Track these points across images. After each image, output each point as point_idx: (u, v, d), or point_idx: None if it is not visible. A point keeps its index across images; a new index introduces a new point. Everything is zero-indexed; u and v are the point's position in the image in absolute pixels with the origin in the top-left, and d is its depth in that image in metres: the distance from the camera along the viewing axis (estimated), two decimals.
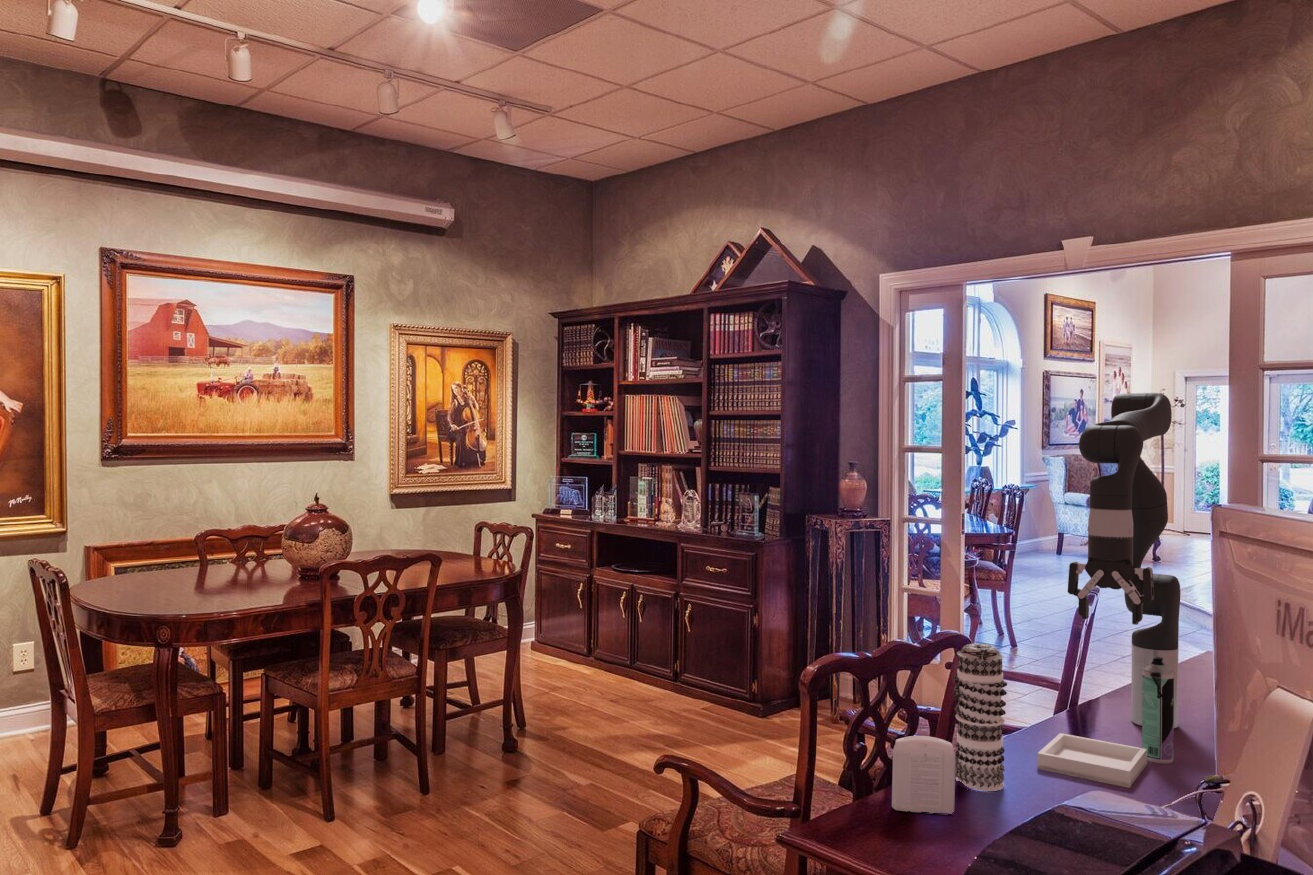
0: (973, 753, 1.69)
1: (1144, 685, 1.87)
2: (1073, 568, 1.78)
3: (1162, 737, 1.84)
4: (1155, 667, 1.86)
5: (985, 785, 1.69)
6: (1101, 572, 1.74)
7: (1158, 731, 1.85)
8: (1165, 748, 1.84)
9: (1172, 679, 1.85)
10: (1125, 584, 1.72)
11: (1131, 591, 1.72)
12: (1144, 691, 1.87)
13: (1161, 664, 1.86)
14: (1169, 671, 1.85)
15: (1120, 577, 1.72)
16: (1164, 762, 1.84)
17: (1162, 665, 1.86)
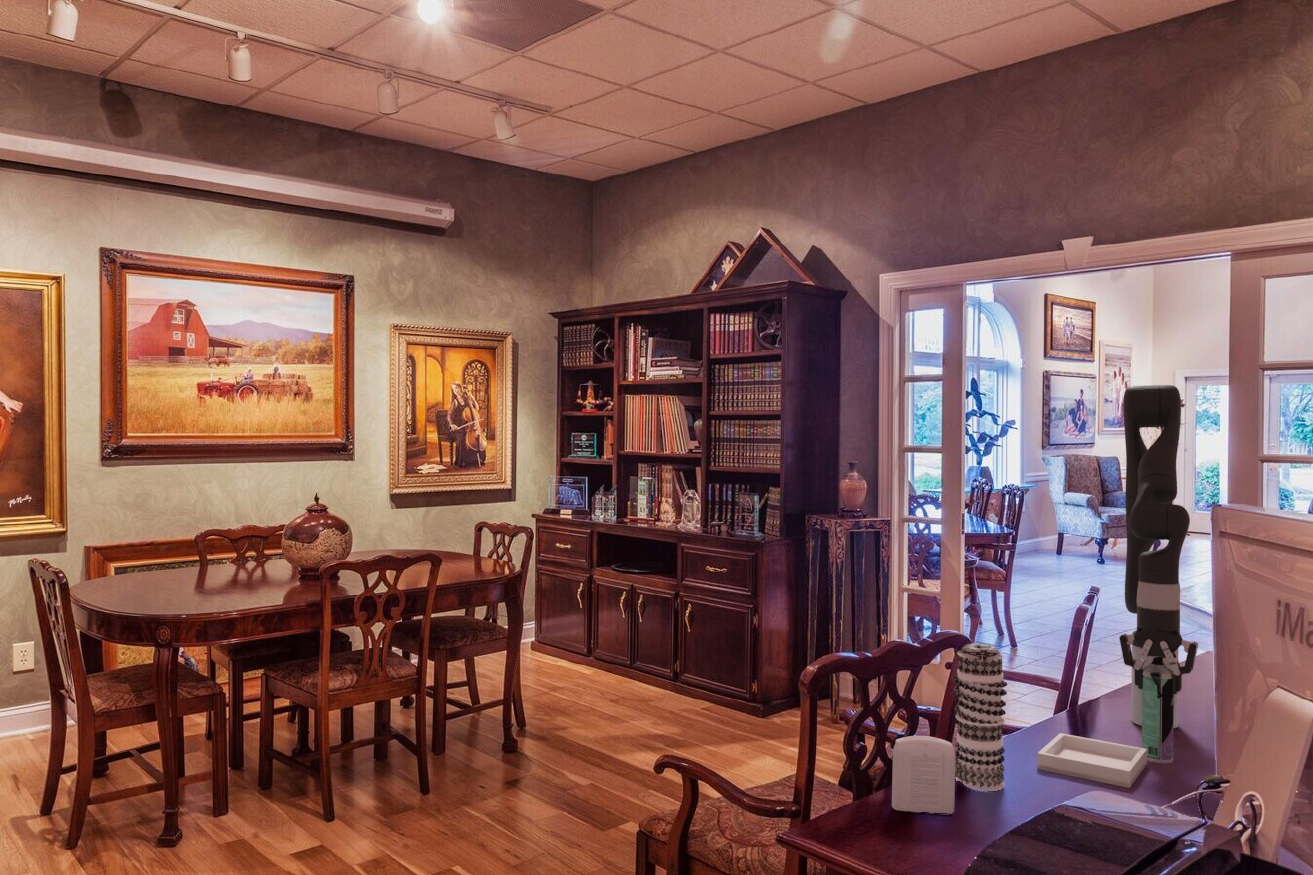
0: (973, 753, 1.69)
1: (1144, 685, 1.87)
2: (1123, 640, 1.90)
3: (1162, 737, 1.84)
4: (1155, 667, 1.86)
5: (985, 785, 1.69)
6: (1149, 641, 1.86)
7: (1158, 731, 1.85)
8: (1165, 748, 1.84)
9: None
10: (1170, 655, 1.84)
11: (1174, 662, 1.84)
12: (1144, 691, 1.87)
13: (1161, 664, 1.86)
14: (1169, 671, 1.85)
15: (1167, 648, 1.85)
16: (1164, 762, 1.84)
17: (1162, 665, 1.86)
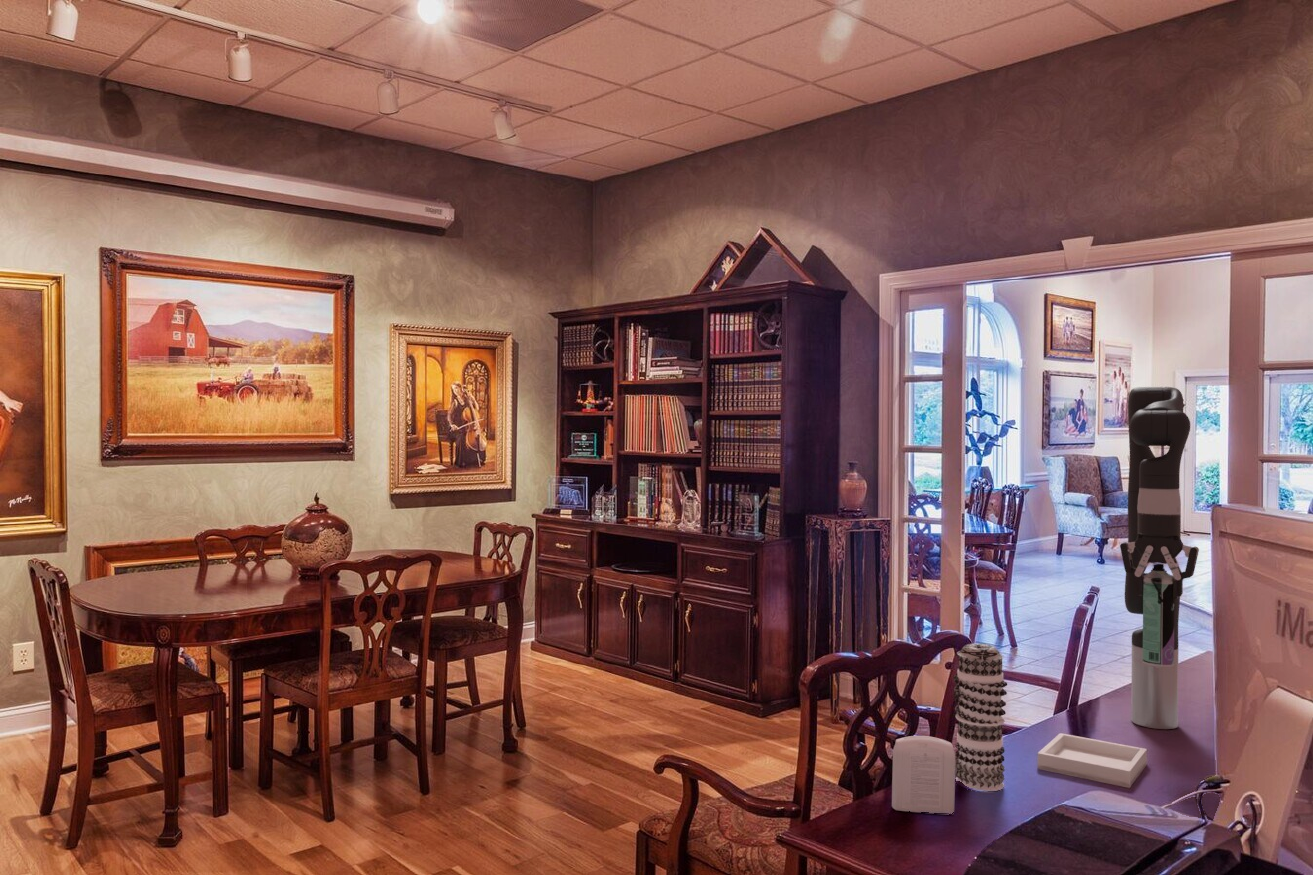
0: (973, 753, 1.69)
1: (1145, 591, 1.87)
2: (1124, 548, 1.90)
3: (1163, 643, 1.85)
4: (1156, 573, 1.86)
5: (985, 785, 1.69)
6: (1150, 547, 1.86)
7: (1159, 636, 1.85)
8: (1166, 653, 1.84)
9: None
10: (1171, 560, 1.84)
11: (1174, 567, 1.84)
12: (1145, 597, 1.87)
13: (1162, 570, 1.86)
14: (1170, 577, 1.85)
15: (1167, 553, 1.85)
16: (1165, 667, 1.85)
17: (1163, 571, 1.86)
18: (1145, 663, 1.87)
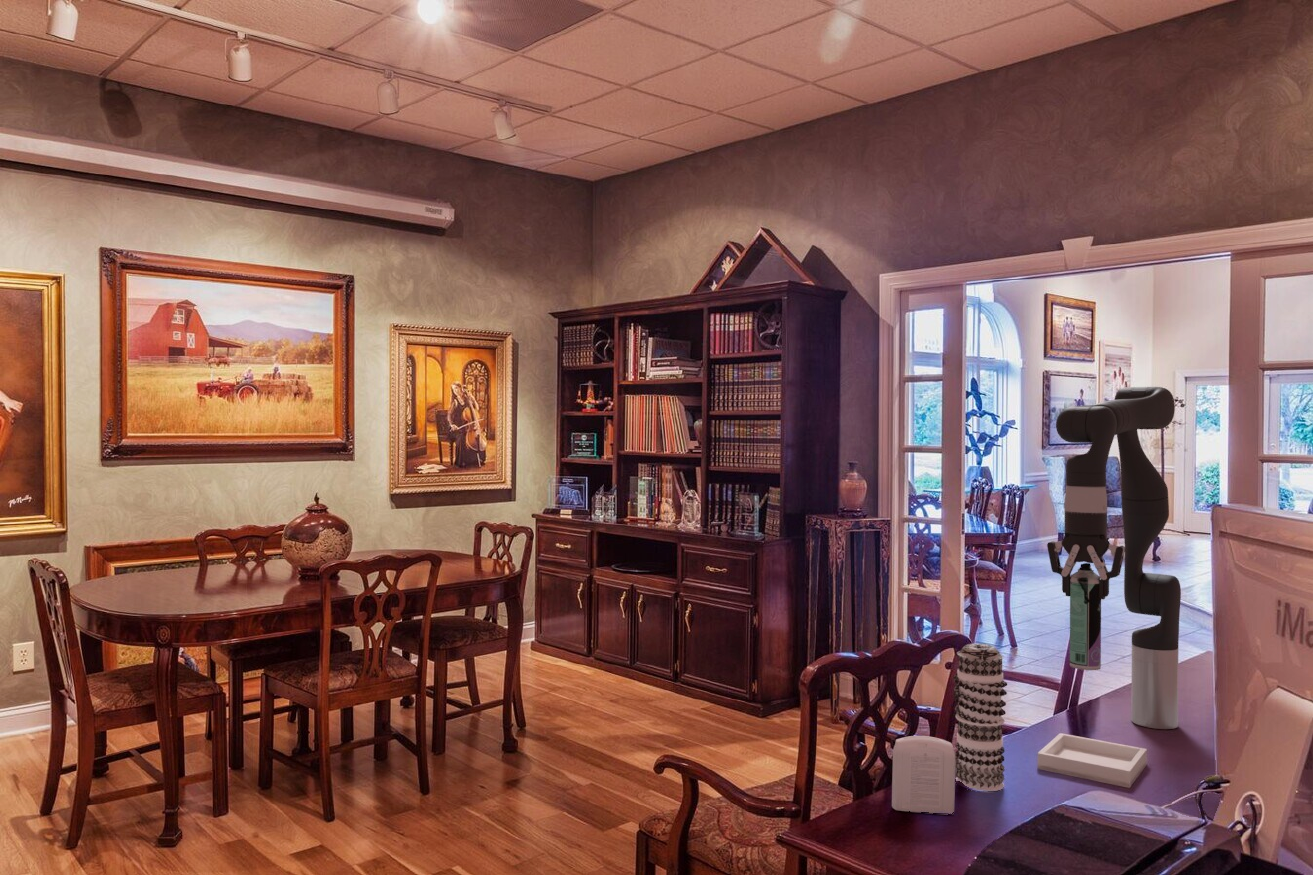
0: (973, 753, 1.69)
1: (1071, 591, 1.83)
2: (1051, 547, 1.86)
3: (1089, 644, 1.80)
4: (1082, 573, 1.82)
5: (985, 785, 1.69)
6: (1077, 546, 1.82)
7: (1085, 637, 1.81)
8: (1092, 654, 1.80)
9: None
10: (1097, 559, 1.80)
11: (1101, 567, 1.80)
12: (1071, 598, 1.83)
13: (1088, 569, 1.82)
14: (1096, 576, 1.81)
15: (1094, 552, 1.81)
16: (1091, 669, 1.80)
17: (1089, 570, 1.82)
18: (1072, 665, 1.83)
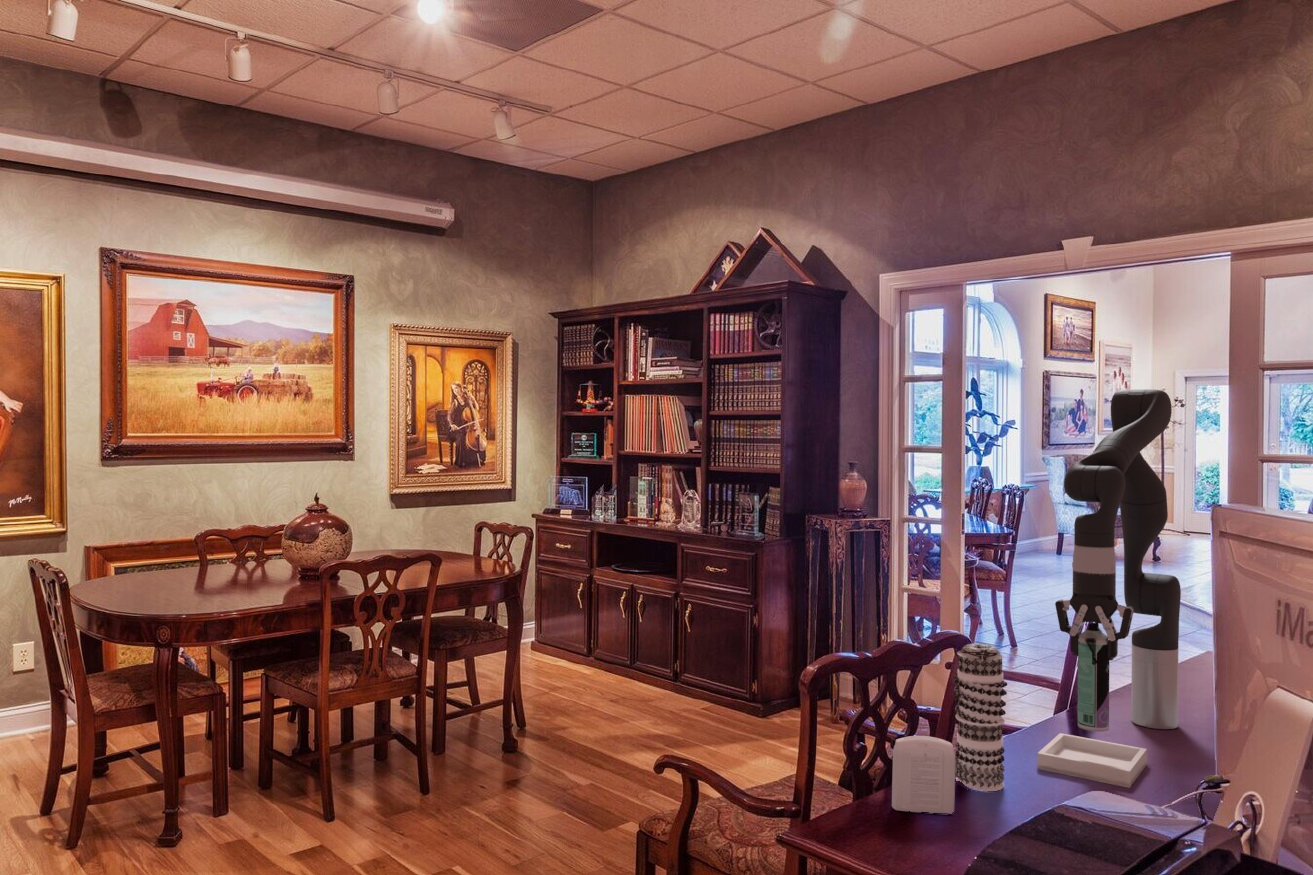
0: (973, 753, 1.69)
1: (1079, 651, 1.82)
2: (1059, 606, 1.85)
3: (1097, 705, 1.80)
4: (1090, 633, 1.81)
5: (985, 785, 1.69)
6: (1085, 606, 1.82)
7: (1093, 698, 1.80)
8: (1100, 715, 1.80)
9: (1107, 645, 1.80)
10: (1105, 620, 1.80)
11: (1109, 628, 1.79)
12: (1079, 658, 1.82)
13: (1096, 630, 1.81)
14: (1104, 637, 1.80)
15: (1102, 613, 1.80)
16: (1099, 730, 1.80)
17: (1097, 631, 1.81)
18: (1080, 725, 1.82)
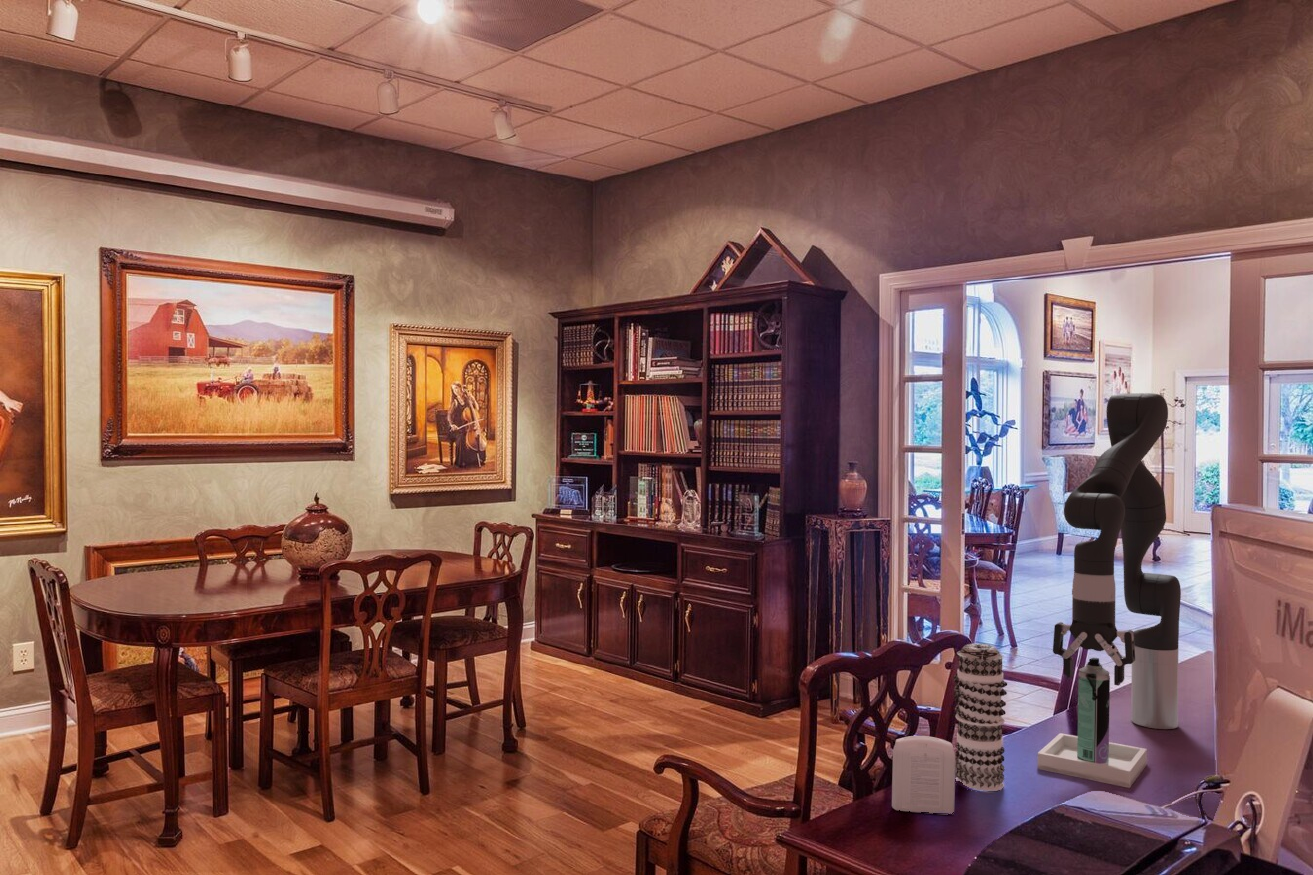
0: (973, 753, 1.69)
1: (1080, 686, 1.82)
2: (1058, 629, 1.85)
3: (1097, 740, 1.80)
4: (1091, 668, 1.81)
5: (985, 785, 1.69)
6: (1085, 634, 1.81)
7: (1093, 733, 1.80)
8: (1100, 751, 1.80)
9: (1108, 680, 1.80)
10: (1107, 646, 1.79)
11: (1113, 653, 1.79)
12: (1080, 693, 1.82)
13: (1097, 665, 1.81)
14: (1105, 672, 1.80)
15: (1102, 639, 1.80)
16: None
17: (1098, 666, 1.81)
18: None
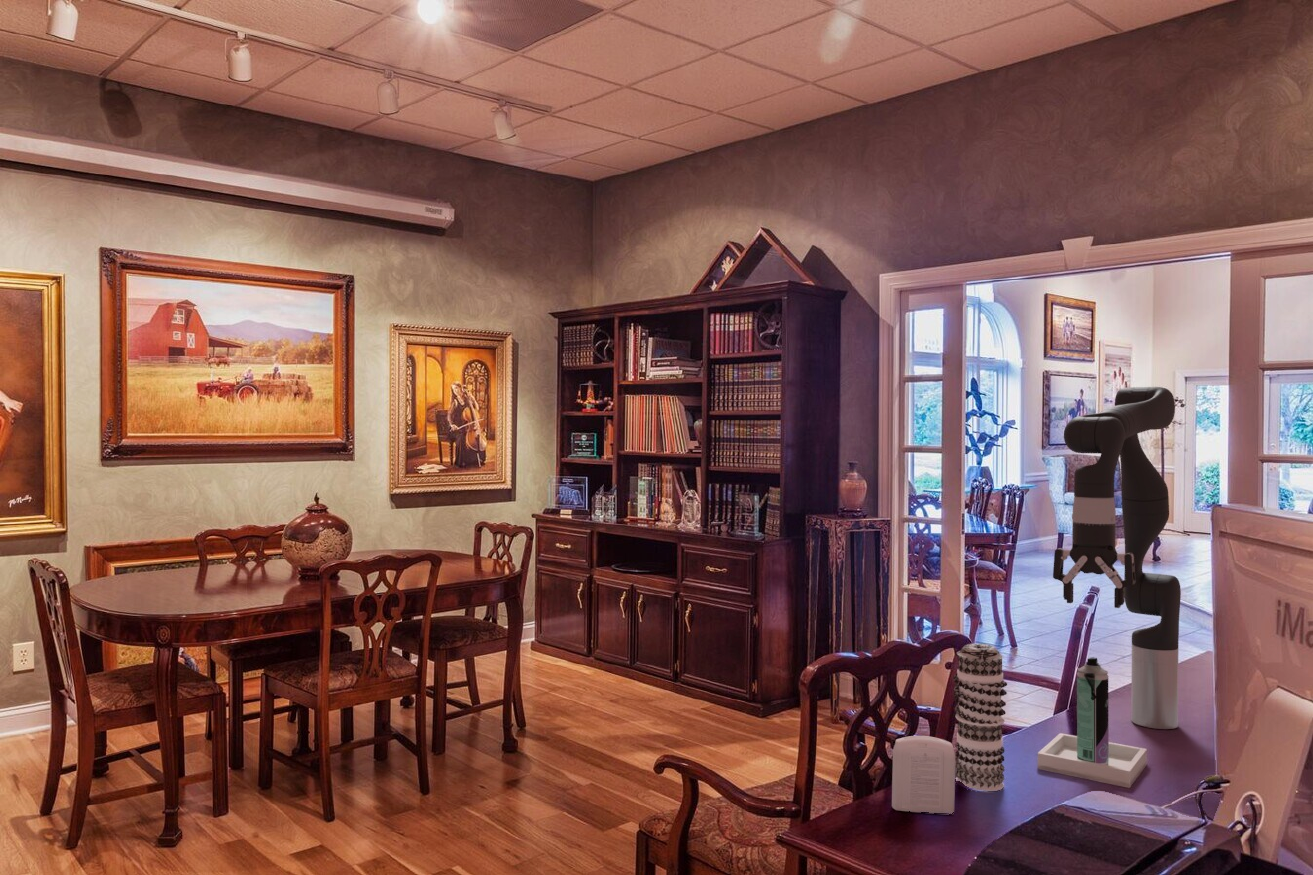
0: (973, 753, 1.69)
1: (1078, 686, 1.82)
2: (1058, 554, 1.85)
3: (1096, 740, 1.80)
4: (1089, 668, 1.81)
5: (985, 785, 1.69)
6: (1085, 558, 1.81)
7: (1093, 733, 1.80)
8: (1100, 750, 1.80)
9: (1106, 680, 1.80)
10: (1107, 569, 1.79)
11: (1113, 576, 1.79)
12: (1078, 692, 1.82)
13: (1095, 665, 1.81)
14: (1103, 672, 1.81)
15: (1102, 562, 1.80)
16: None
17: (1096, 666, 1.81)
18: None
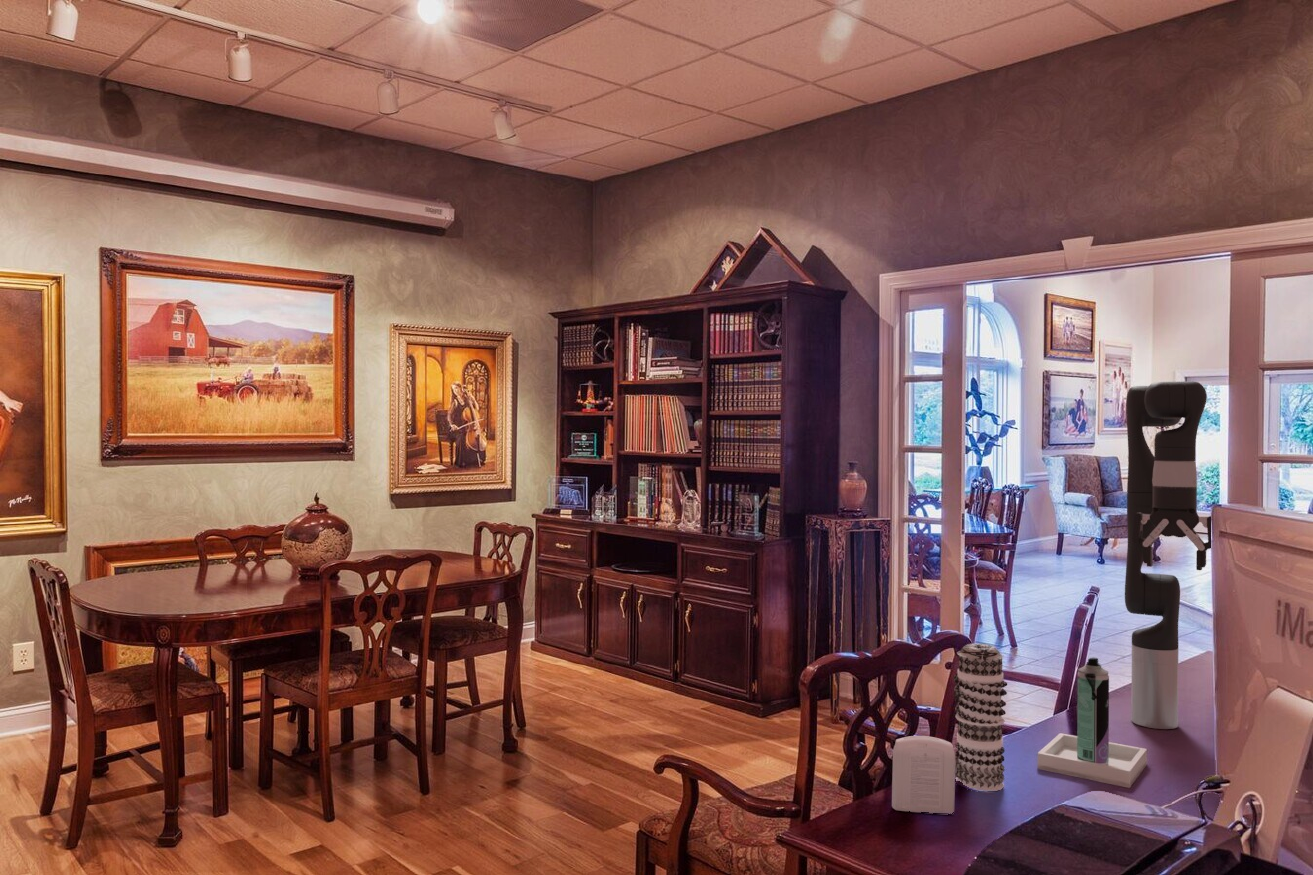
0: (973, 753, 1.69)
1: (1079, 686, 1.82)
2: (1138, 518, 1.87)
3: (1096, 740, 1.80)
4: (1090, 668, 1.81)
5: (985, 785, 1.69)
6: (1166, 521, 1.83)
7: (1093, 733, 1.80)
8: (1100, 751, 1.80)
9: (1107, 680, 1.80)
10: (1190, 532, 1.81)
11: (1195, 538, 1.80)
12: (1079, 693, 1.82)
13: (1096, 665, 1.81)
14: (1104, 672, 1.81)
15: (1184, 525, 1.81)
16: None
17: (1097, 666, 1.81)
18: None
